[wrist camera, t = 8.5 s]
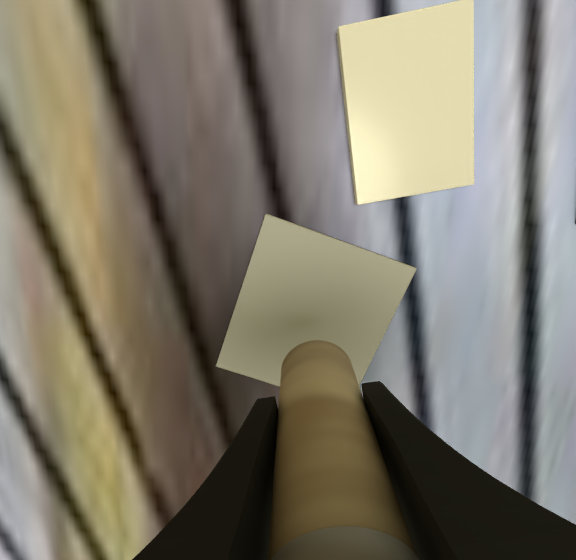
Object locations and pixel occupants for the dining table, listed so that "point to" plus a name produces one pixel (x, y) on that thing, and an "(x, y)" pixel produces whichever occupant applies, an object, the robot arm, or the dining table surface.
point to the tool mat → (310, 300)
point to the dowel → (330, 467)
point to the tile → (409, 101)
